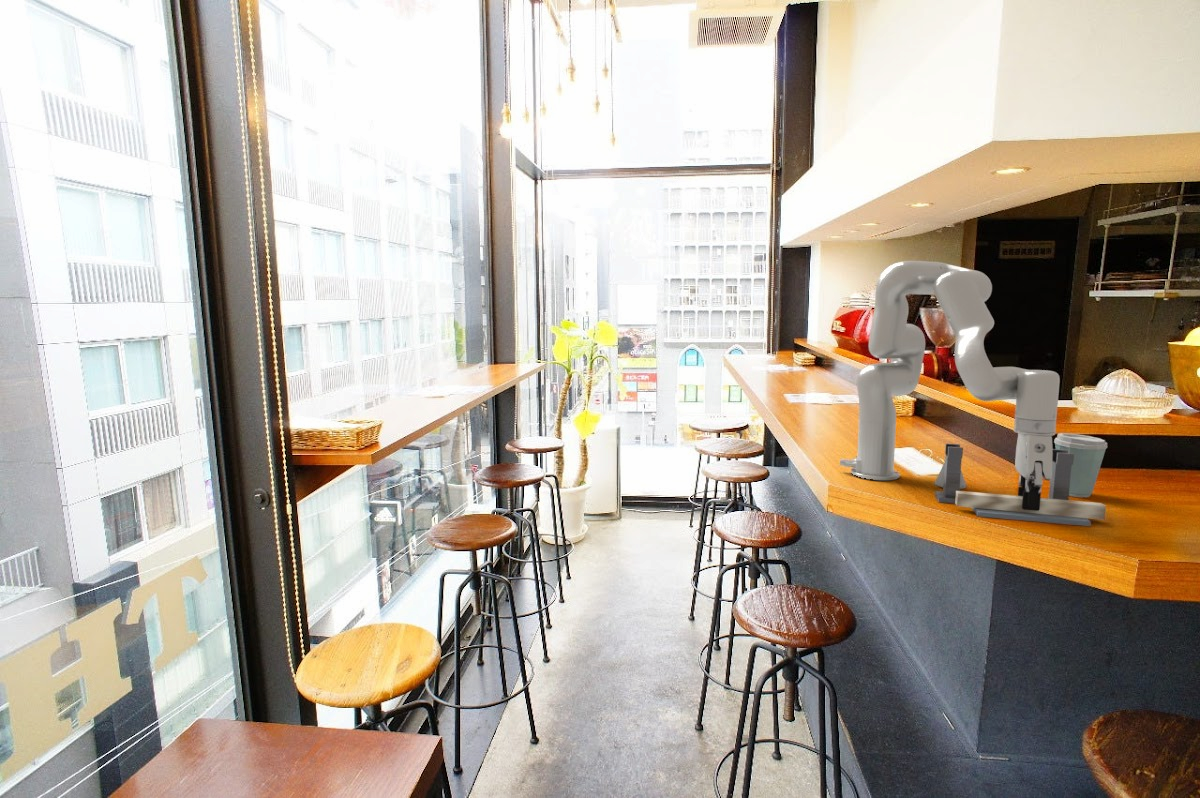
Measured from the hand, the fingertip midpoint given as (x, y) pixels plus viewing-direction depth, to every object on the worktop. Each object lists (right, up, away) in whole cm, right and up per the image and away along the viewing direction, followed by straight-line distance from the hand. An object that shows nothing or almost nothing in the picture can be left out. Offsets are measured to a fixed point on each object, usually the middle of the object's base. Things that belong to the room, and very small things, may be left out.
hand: (1028, 506), depth 142 cm
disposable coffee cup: (+23, 0, +17) cm, 29 cm away
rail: (0, -1, 0) cm, 1 cm away
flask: (-3, +1, +25) cm, 26 cm away
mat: (0, -2, 0) cm, 2 cm away
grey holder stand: (0, -1, +9) cm, 9 cm away
